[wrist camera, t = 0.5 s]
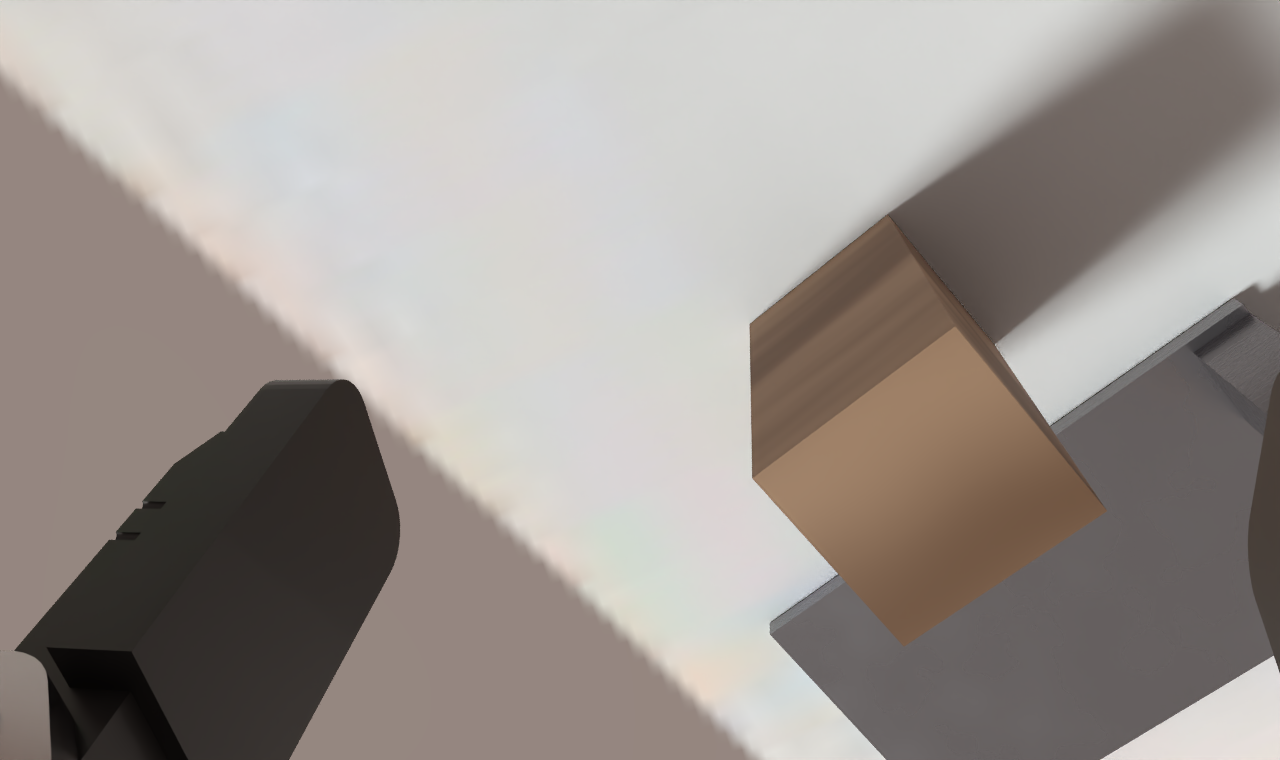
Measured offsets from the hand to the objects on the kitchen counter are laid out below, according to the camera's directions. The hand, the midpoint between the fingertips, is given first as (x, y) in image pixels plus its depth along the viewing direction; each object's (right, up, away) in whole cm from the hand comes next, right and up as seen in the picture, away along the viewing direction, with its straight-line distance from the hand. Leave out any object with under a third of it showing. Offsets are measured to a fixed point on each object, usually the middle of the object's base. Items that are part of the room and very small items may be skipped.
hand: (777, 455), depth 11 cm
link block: (+5, +2, +20) cm, 21 cm away
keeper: (+11, -5, +22) cm, 25 cm away
